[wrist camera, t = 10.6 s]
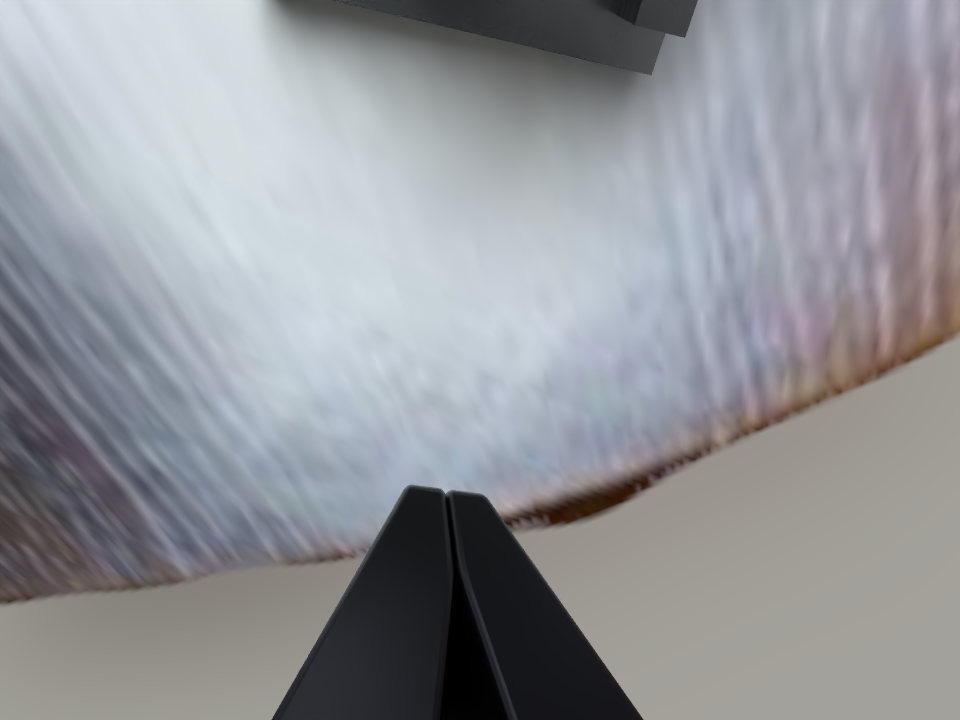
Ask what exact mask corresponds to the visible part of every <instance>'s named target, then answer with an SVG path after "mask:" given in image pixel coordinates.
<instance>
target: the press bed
mask: <svg viewBox="0 0 960 720" xmlns="http://www.w3.org/2000/svg"><path fill="white" fill-rule="evenodd" d="M334 1H339V2H343V3H347V4H351V5H356V6H360V7H364V8H368V9H373V10H377V11H381V12H385V13H390V14H394V15H398V16H402V17H407V18H411V19H415V20H419V21H424V22H428V23H432V24H436V25H441V26H445V27H449V28H453V29H458V30H462V31H466V32H470V33H475V34H479V35H483V36H487V37H492V38H496V39H500V40H504V41H508V42H513V43H517V44H521V45H525V46H530V47H534V48H538V49H542V50H547V51H551V52H555V53H559V54H564V55H568V56H572V57H576V58H581V59H585V60H589V61H593V62H598V63H602V64H606V65H610V66H615V67H619V68H623V69H627V70H632V71H636V72H640V73H644V74H649V75H652V71H653V68H654V65H655V62H656V59H657V56H658V53H659V50H660V47H661V44H662V41H663V38H664V35H665V33H668V34H672V35H676V36H680V37H684V38H685V36H686V33H687V30H688V27H689V24H690V21H691V18H692V15H693V12H694V9H695V6H696V3H697V0H334Z"/></svg>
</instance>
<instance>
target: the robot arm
mask: <svg viewBox="0 0 960 720" xmlns="http://www.w3.org/2000/svg"><path fill="white" fill-rule="evenodd" d="M272 720H643V718H642V717H641V716H640V714H639V713H638V711H637V710H636V708H635V707H634V706H633V704H632V703H631V701H630V700H629V698H628V697H627V696H626V694H625V693H624V691H623V690H622V689H621V687H620V686H619V685H618V683H617V681H616V680H615V679H614V677H613V676H612V674H611V673H610V671H609V670H608V669H607V667H606V666H605V664H604V663H603V662H602V660H601V659H600V657H599V656H598V655H597V653H596V652H595V650H594V649H593V647H592V646H591V645H590V643H589V642H588V640H587V639H586V637H585V636H584V635H583V633H582V632H581V630H580V629H579V627H578V626H577V625H576V623H575V622H574V620H573V619H572V618H571V616H570V615H569V613H568V612H567V610H566V609H565V608H564V606H563V605H562V603H561V602H560V601H559V599H558V598H557V596H556V595H555V593H554V592H553V591H552V589H551V588H550V586H549V585H548V584H547V582H546V581H545V579H544V578H543V576H542V575H541V574H540V572H539V571H538V569H537V568H536V566H535V565H534V564H533V562H532V561H531V559H530V558H529V556H528V555H527V554H526V552H525V551H524V549H523V548H522V547H521V545H520V544H519V542H518V541H517V539H516V538H515V537H514V535H513V534H512V532H511V531H510V530H509V528H508V527H507V525H506V524H505V522H504V521H503V520H502V518H501V517H500V515H499V514H498V512H497V511H496V510H495V508H494V507H493V505H492V504H491V503H490V501H489V500H488V499H487V497H485V496H484V495H482V494H479V493H472V492H464V491H456V490H451V491H449V492H447V493H446V495H445V493H444V491H443V490H441V489H439V488H433V487H425V486H417V485H409V486H407V487H406V488H405V489H404V490H403V492H402V494H401V496H400V497H399V499H398V501H397V503H396V504H395V506H394V508H393V510H392V511H391V513H390V515H389V516H388V518H387V520H386V522H385V523H384V525H383V527H382V529H381V530H380V532H379V534H378V536H377V537H376V539H375V541H374V543H373V544H372V546H371V548H370V549H369V551H368V553H367V555H366V556H365V558H364V560H363V562H362V563H361V565H360V567H359V569H358V570H357V572H356V574H355V576H354V577H353V579H352V581H351V583H350V584H349V586H348V588H347V589H346V591H345V593H344V595H343V597H342V598H341V600H340V602H339V604H338V605H337V607H336V609H335V610H334V612H333V614H332V616H331V617H330V619H329V621H328V623H327V624H326V626H325V628H324V629H323V631H322V633H321V635H320V636H319V638H318V640H317V642H316V644H315V645H314V647H313V649H312V650H311V652H310V654H309V655H308V658H307V659H306V661H305V662H304V664H303V666H302V668H301V669H300V671H299V673H298V675H297V677H296V678H295V680H294V682H293V683H292V685H291V687H290V689H289V690H288V692H287V694H286V695H285V697H284V699H283V701H282V703H281V704H280V706H279V708H278V709H277V711H276V713H275V715H274V716H273V719H272Z"/></svg>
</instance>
